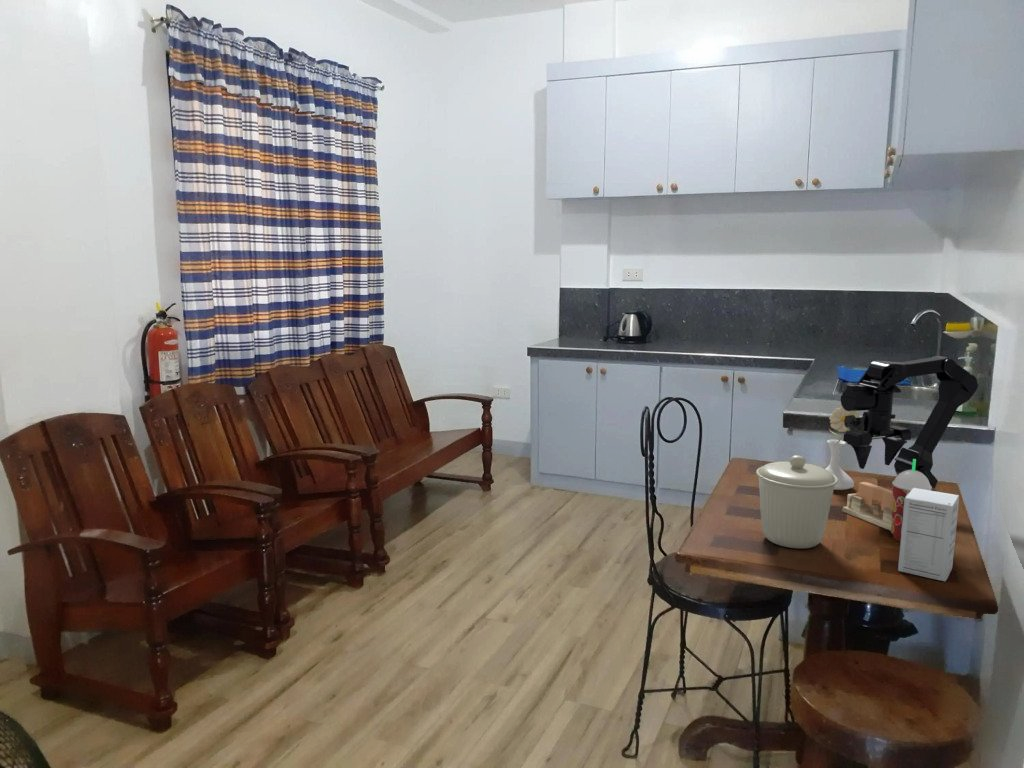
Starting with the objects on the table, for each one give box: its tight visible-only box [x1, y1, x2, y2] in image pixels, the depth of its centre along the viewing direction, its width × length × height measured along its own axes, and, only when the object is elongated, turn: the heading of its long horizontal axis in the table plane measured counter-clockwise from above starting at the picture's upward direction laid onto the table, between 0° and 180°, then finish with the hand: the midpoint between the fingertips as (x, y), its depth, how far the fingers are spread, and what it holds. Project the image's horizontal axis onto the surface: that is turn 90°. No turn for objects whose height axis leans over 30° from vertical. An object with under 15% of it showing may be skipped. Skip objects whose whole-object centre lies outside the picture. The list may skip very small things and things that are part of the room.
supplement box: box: [897, 488, 960, 582], centre depth 163 cm, size 10×9×17 cm
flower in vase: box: [825, 406, 860, 491], centre depth 219 cm, size 13×11×25 cm
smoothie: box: [890, 459, 933, 543], centre depth 180 cm, size 8×8×20 cm
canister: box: [755, 454, 838, 549], centre depth 178 cm, size 18×18×21 cm
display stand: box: [841, 492, 892, 532], centre depth 195 cm, size 8×16×5 cm, turn 23°
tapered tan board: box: [857, 481, 892, 511], centre depth 195 cm, size 2×12×5 cm, turn 24°
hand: (874, 466), depth 200 cm, fingers open, 9 cm apart
